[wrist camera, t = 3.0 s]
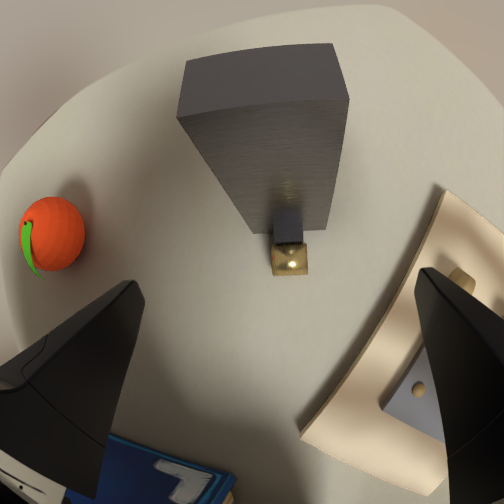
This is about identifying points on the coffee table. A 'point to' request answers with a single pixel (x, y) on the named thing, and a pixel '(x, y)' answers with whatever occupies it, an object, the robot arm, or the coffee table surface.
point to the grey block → (271, 137)
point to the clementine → (51, 234)
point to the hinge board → (409, 362)
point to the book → (154, 478)
